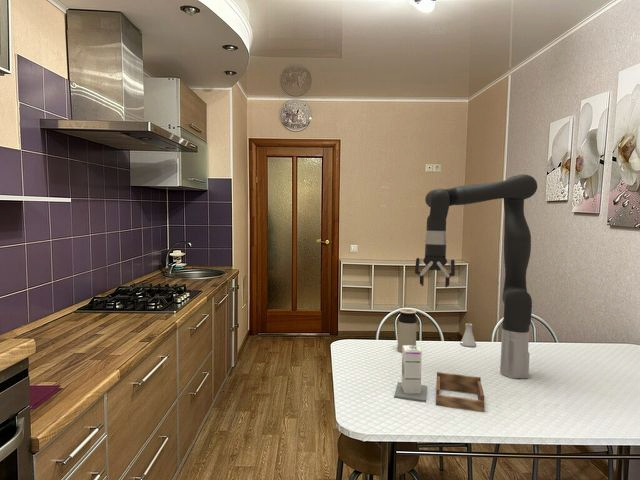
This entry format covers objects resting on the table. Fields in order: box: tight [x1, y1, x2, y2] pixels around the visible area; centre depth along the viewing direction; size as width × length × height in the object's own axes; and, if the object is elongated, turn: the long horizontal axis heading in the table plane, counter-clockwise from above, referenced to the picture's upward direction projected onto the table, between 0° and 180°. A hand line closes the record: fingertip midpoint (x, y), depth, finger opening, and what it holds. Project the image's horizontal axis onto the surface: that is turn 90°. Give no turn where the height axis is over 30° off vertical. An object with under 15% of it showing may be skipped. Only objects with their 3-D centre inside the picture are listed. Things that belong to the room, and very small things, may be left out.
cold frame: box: [435, 371, 485, 413], centre depth 130 cm, size 14×14×6 cm
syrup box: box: [401, 345, 423, 394], centre depth 135 cm, size 6×6×14 cm
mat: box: [393, 381, 428, 403], centre depth 135 cm, size 10×12×1 cm
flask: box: [459, 322, 477, 348], centre depth 190 cm, size 7×7×10 cm
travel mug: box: [396, 308, 418, 353], centre depth 179 cm, size 8×8×18 cm
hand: (434, 286), depth 151 cm, fingers open, 8 cm apart
